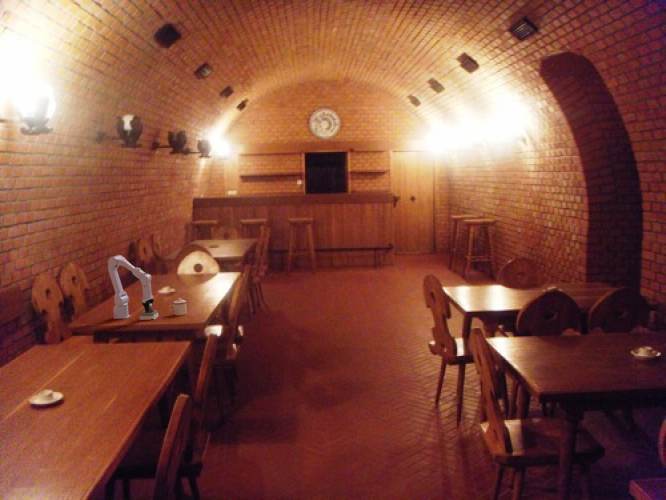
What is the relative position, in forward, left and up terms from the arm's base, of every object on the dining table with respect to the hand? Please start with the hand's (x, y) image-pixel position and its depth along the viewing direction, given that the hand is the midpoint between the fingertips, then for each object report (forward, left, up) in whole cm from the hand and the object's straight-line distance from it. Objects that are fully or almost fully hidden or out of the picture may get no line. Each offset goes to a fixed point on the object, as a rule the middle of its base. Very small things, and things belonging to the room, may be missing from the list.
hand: (148, 310), depth 412 cm
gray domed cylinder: (0, 0, -2) cm, 2 cm away
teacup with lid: (+18, +9, -6) cm, 21 cm away
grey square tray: (0, 0, -5) cm, 5 cm away
